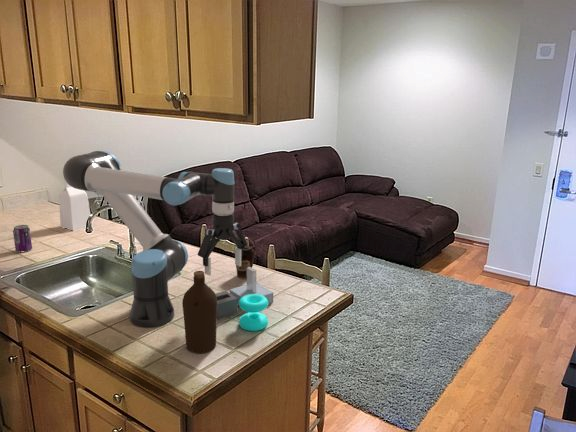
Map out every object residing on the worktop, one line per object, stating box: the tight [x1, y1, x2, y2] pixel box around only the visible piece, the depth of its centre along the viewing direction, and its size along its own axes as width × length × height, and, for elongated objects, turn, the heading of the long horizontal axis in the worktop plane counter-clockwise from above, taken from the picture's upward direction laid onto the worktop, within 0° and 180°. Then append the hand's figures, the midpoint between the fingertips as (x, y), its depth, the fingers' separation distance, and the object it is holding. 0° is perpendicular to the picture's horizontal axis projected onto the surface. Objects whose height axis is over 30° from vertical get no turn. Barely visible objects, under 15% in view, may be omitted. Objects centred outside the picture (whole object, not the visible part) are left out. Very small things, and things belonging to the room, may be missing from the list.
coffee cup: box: [235, 244, 255, 279], centre depth 207 cm, size 9×8×13 cm
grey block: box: [215, 290, 239, 321], centre depth 175 cm, size 8×8×6 cm
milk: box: [58, 181, 91, 232], centre depth 268 cm, size 12×12×26 cm
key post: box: [246, 267, 257, 293], centre depth 183 cm, size 2×4×9 cm, turn 38°
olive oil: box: [181, 270, 218, 354], centre depth 150 cm, size 11×11×25 cm
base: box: [229, 282, 274, 305], centre depth 185 cm, size 12×12×4 cm
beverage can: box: [12, 224, 33, 253], centre depth 232 cm, size 7×7×12 cm
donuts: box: [238, 294, 269, 332], centre depth 166 cm, size 10×10×10 cm
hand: (223, 269), depth 175 cm, fingers open, 13 cm apart
